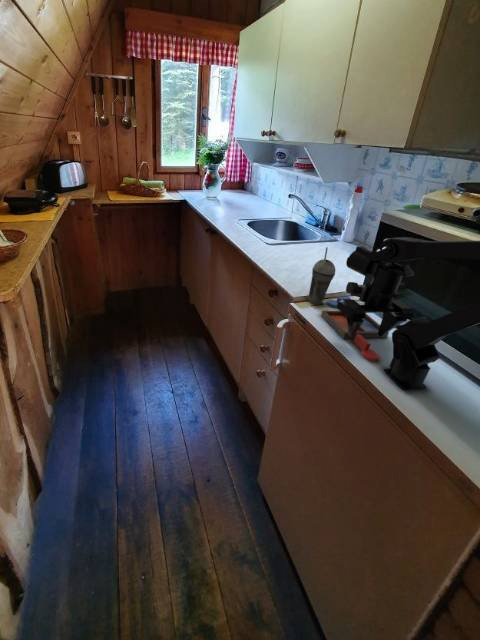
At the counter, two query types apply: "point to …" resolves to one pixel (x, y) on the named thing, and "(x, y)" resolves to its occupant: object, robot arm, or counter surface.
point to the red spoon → (365, 348)
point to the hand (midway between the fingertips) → (365, 335)
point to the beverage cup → (321, 279)
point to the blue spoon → (335, 303)
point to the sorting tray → (340, 325)
